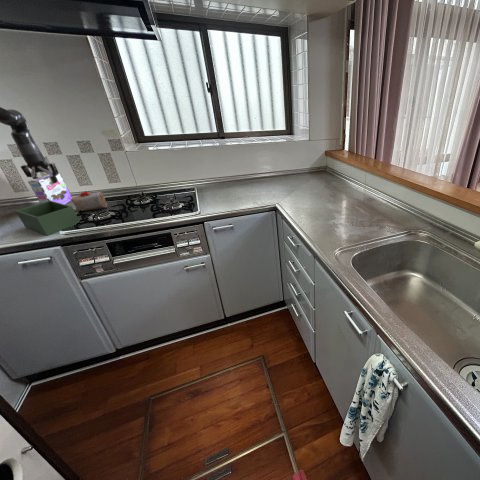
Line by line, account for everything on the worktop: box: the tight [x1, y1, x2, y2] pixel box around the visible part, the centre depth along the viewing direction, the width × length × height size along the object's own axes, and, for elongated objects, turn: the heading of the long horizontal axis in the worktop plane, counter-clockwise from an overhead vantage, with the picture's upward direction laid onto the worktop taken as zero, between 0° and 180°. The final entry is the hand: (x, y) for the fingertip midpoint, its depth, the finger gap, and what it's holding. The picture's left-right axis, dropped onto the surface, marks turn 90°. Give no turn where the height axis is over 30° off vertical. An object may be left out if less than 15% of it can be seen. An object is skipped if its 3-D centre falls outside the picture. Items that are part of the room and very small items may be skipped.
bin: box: [14, 201, 81, 237], centre depth 128 cm, size 20×14×9 cm
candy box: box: [27, 173, 73, 205], centre depth 149 cm, size 14×6×16 cm, turn 179°
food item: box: [71, 190, 108, 213], centre depth 145 cm, size 14×8×10 cm, turn 116°
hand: (47, 183), depth 146 cm, fingers closed on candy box, 7 cm apart
